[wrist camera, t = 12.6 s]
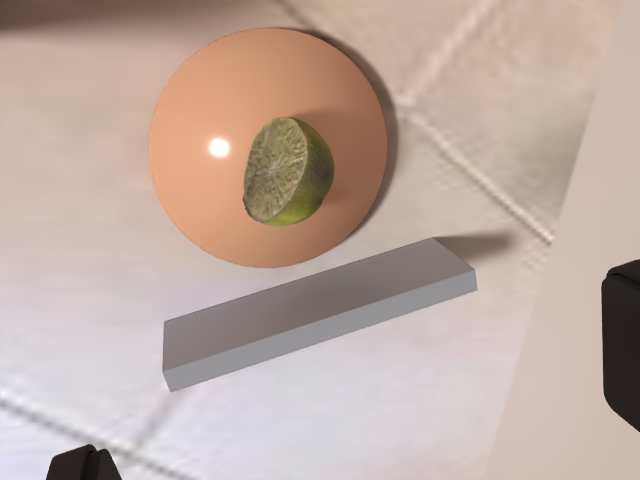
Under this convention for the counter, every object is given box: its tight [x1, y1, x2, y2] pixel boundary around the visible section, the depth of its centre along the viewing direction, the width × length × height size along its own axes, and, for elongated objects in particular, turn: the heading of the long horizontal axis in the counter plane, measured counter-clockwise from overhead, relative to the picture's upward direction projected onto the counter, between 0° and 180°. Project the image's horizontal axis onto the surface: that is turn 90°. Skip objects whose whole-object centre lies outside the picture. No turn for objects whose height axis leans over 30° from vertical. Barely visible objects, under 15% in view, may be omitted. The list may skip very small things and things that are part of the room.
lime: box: [243, 117, 335, 227], centre depth 25 cm, size 4×5×5 cm
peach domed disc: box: [149, 28, 387, 268], centre depth 28 cm, size 12×12×1 cm
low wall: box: [162, 238, 477, 392], centre depth 29 cm, size 1×16×5 cm, turn 102°
